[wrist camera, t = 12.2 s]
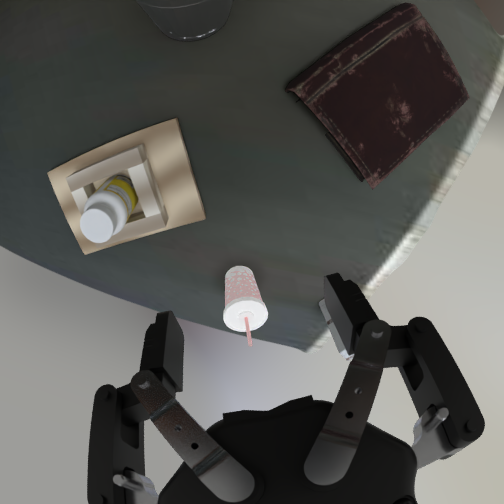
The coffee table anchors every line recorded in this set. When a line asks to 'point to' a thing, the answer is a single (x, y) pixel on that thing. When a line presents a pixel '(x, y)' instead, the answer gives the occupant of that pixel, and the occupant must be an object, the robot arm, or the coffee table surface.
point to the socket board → (164, 172)
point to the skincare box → (334, 331)
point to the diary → (383, 91)
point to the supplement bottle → (108, 208)
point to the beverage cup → (243, 302)
